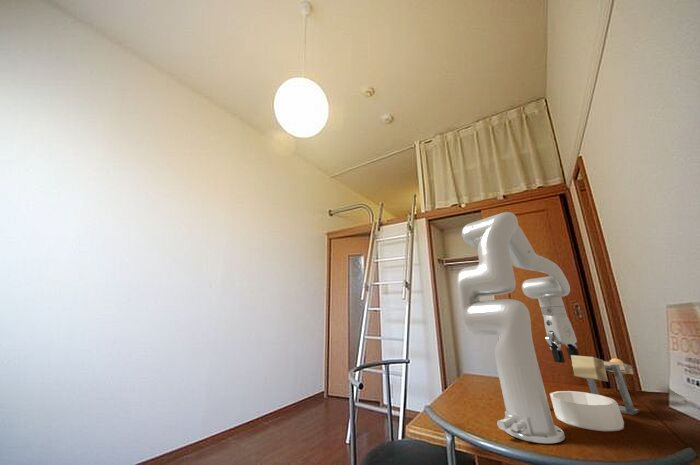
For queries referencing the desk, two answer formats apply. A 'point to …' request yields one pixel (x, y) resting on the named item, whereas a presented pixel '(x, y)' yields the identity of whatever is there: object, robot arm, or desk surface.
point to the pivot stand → (622, 387)
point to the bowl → (587, 410)
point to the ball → (616, 360)
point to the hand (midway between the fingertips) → (567, 361)
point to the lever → (596, 367)
